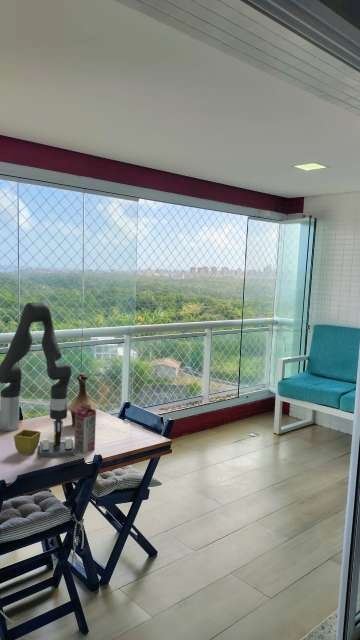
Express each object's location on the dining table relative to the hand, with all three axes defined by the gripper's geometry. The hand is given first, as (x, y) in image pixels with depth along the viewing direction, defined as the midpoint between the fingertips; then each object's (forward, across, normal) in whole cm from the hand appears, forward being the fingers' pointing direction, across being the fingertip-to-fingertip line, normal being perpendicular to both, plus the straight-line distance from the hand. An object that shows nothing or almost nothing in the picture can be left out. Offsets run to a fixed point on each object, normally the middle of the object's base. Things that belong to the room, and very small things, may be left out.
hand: (57, 444), depth 222 cm
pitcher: (+4, -39, +14) cm, 41 cm away
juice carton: (+4, -2, +12) cm, 13 cm away
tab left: (+1, +1, -5) cm, 6 cm away
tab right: (+1, +1, +5) cm, 5 cm away
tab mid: (+1, -5, 0) cm, 5 cm away
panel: (+4, -3, 0) cm, 5 cm away
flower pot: (+4, -2, -13) cm, 14 cm away
